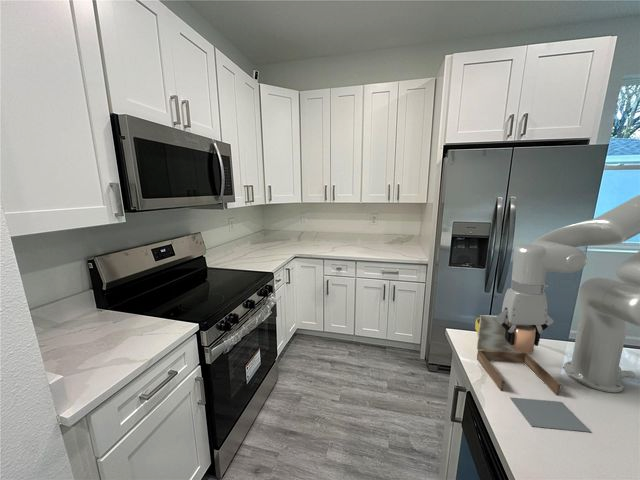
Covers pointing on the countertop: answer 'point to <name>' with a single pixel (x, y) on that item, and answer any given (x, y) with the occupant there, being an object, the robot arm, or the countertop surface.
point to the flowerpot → (524, 338)
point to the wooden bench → (505, 353)
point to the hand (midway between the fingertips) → (521, 342)
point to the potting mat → (548, 414)
